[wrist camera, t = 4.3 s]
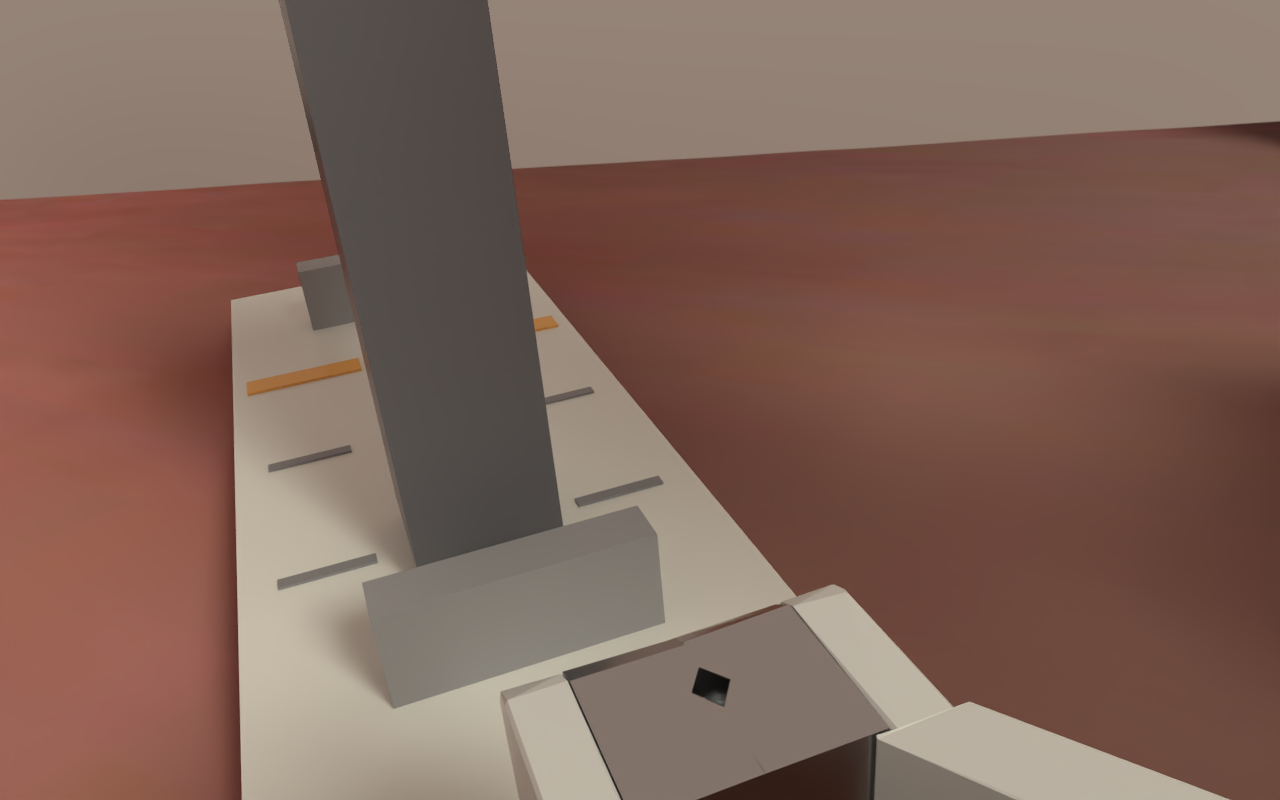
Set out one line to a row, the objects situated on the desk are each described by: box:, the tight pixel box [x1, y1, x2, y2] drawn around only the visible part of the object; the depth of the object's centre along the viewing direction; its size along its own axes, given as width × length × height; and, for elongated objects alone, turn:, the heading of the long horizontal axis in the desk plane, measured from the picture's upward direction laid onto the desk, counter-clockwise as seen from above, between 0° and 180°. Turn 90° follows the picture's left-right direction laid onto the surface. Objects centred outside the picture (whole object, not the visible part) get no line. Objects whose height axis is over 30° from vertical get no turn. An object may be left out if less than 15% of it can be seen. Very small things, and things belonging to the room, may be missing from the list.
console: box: [231, 255, 797, 800], centre depth 26 cm, size 26×10×4 cm, turn 21°
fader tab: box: [279, 0, 563, 567], centre depth 18 cm, size 4×4×14 cm
